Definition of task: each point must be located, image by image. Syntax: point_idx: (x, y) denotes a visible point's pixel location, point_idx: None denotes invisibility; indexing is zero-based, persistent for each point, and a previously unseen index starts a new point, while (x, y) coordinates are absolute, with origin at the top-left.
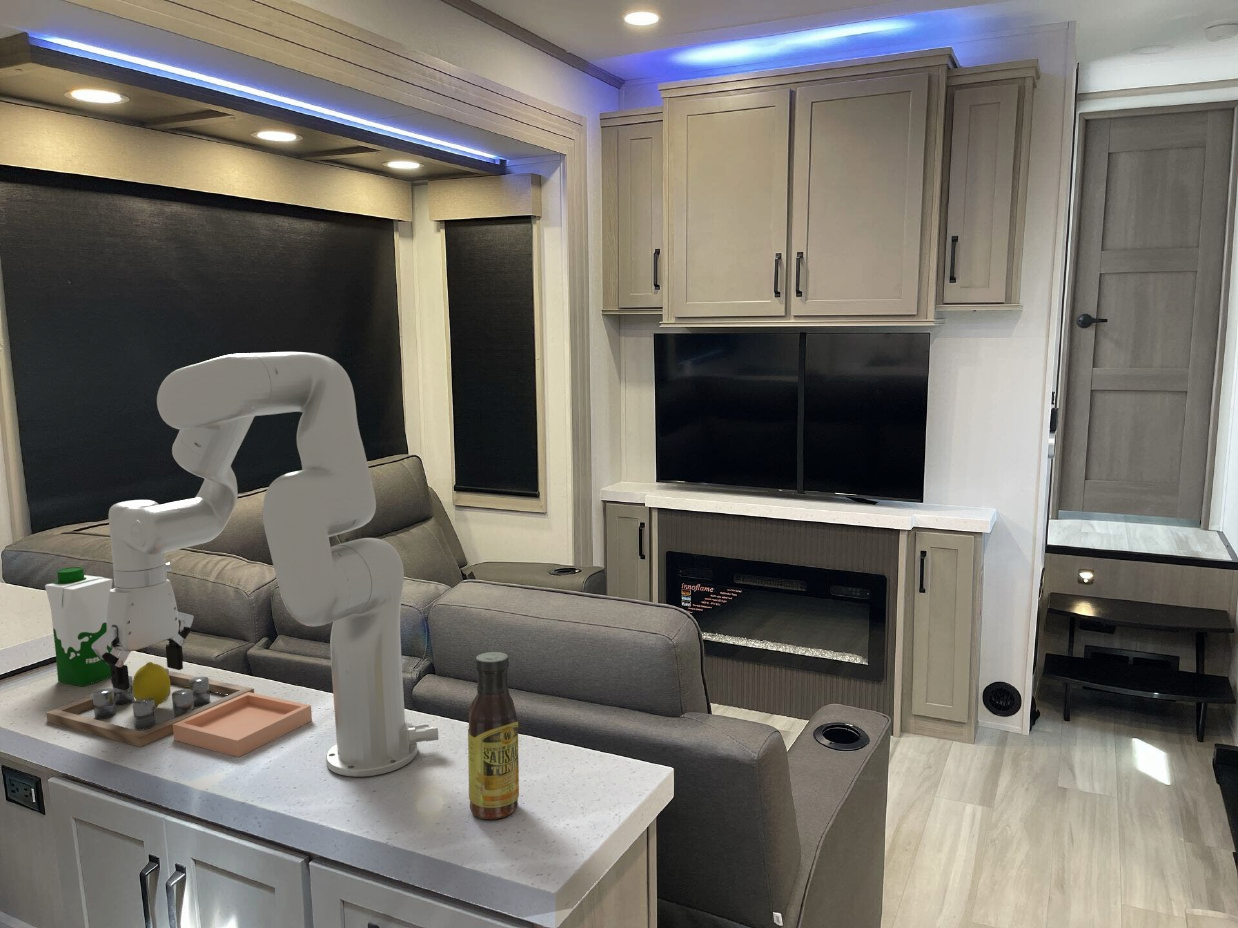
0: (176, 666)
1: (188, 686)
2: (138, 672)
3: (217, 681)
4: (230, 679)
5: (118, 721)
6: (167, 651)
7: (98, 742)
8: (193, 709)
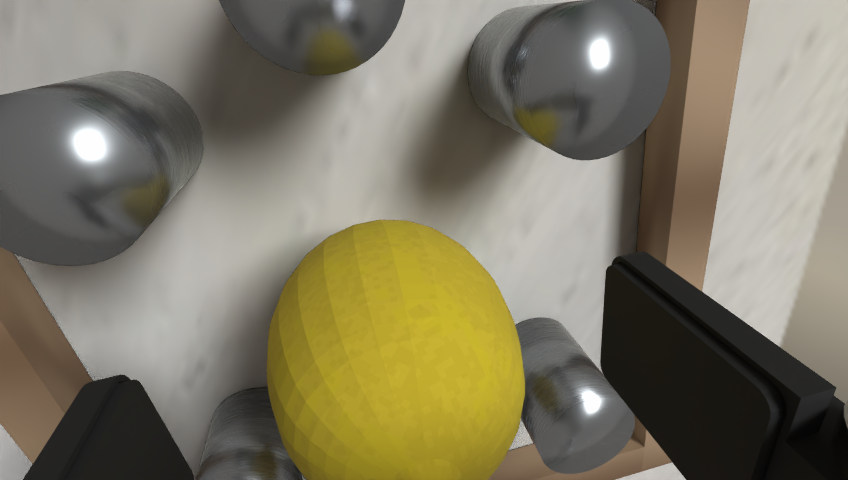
0: (613, 370)
1: None
2: (309, 460)
3: (697, 288)
4: (785, 186)
5: (175, 288)
6: (713, 376)
7: (23, 456)
8: None
